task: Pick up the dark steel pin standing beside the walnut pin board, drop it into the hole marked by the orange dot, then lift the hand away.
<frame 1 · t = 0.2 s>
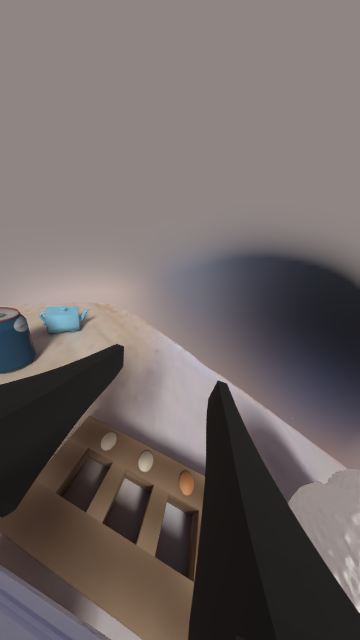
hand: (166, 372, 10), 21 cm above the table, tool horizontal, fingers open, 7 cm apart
white textured round lump: (331, 614, 14), on the table
soda can: (13, 364, 28), on the table
pin board: (128, 508, 16), on the table
teapot: (69, 329, 42), on the table
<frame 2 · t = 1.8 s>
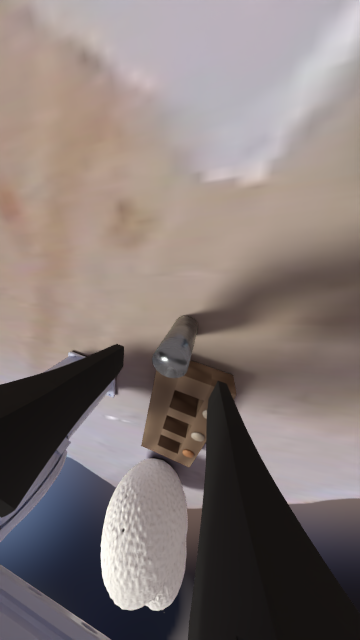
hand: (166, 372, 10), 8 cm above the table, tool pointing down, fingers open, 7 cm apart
white textured round lump: (164, 462, 34), on the table
pin board: (180, 408, 23), on the table
pin: (186, 326, 17), on the table
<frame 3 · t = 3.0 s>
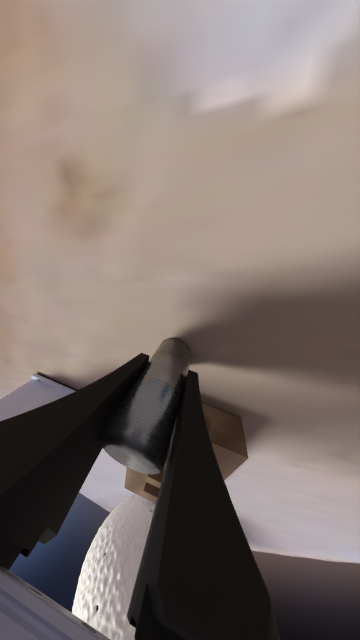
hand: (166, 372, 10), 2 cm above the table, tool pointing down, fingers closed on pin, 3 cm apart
white textured round lump: (155, 496, 29), on the table
pin board: (172, 446, 18), on the table
pin: (175, 352, 12), on the table, touching gripper
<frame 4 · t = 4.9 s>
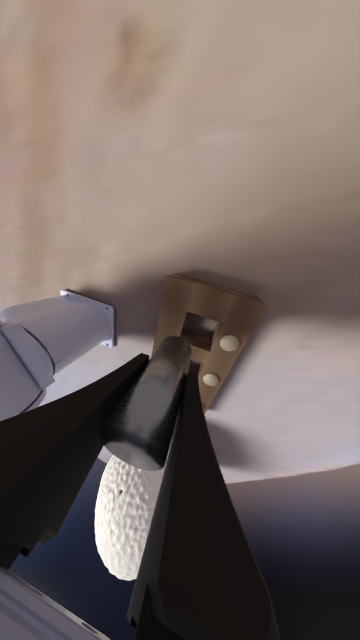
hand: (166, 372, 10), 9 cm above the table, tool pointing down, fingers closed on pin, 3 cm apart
white textured round lump: (166, 432, 31), on the table
pin board: (189, 355, 20), on the table
pin: (175, 350, 12), point 7 cm above the table, touching gripper
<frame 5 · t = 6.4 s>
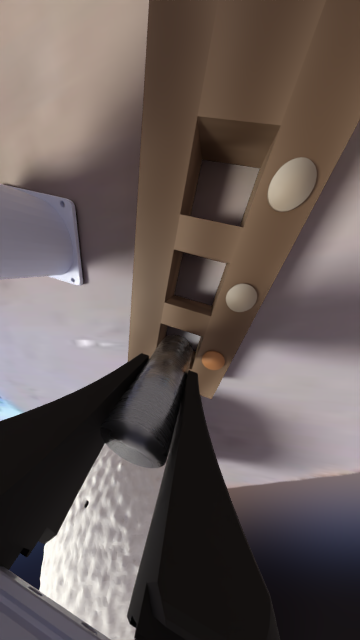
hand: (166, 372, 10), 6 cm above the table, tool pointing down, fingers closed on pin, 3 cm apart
white textured round lump: (165, 418, 23), on the table
pin board: (198, 280, 12), on the table
pin: (176, 349, 12), point 4 cm above the table, touching gripper
when the fingers open (4 cm above the table, at t = 7.1 s): pin drops 2 cm, resting in pin board.
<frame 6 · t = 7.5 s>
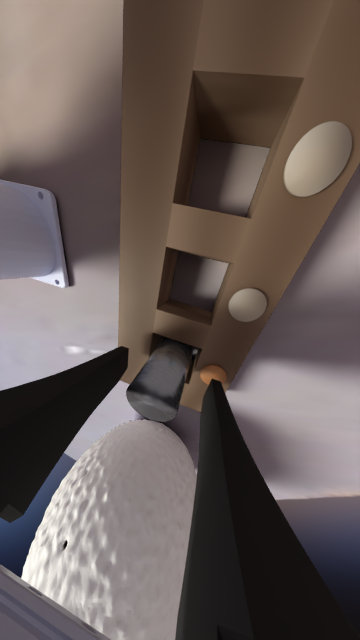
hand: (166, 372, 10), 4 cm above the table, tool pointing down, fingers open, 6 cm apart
white textured round lump: (162, 430, 21), on the table
pin board: (196, 283, 11), on the table
pin: (181, 338, 13), resting in pin board
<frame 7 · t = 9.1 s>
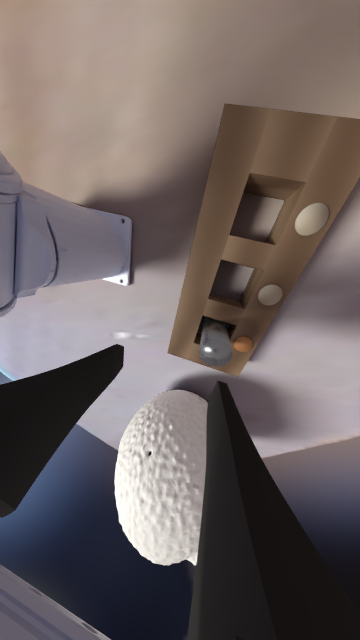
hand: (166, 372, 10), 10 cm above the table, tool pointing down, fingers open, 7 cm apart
white textured round lump: (189, 401, 26), on the table
pin board: (229, 281, 16), on the table
pin: (214, 322, 18), resting in pin board
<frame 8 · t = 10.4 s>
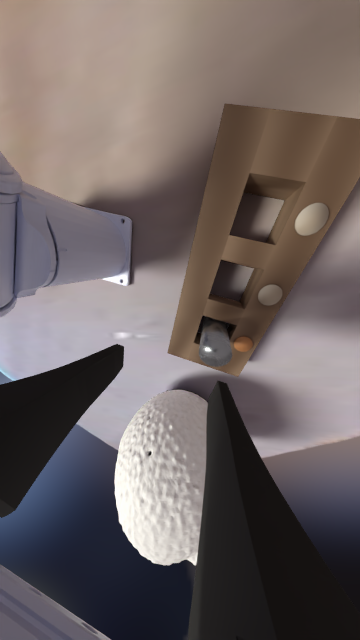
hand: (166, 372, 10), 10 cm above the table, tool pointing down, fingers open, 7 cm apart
white textured round lump: (189, 400, 26), on the table
pin board: (229, 281, 16), on the table
pin: (214, 322, 18), resting in pin board
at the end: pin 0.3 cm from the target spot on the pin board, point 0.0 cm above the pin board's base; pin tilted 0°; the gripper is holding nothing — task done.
